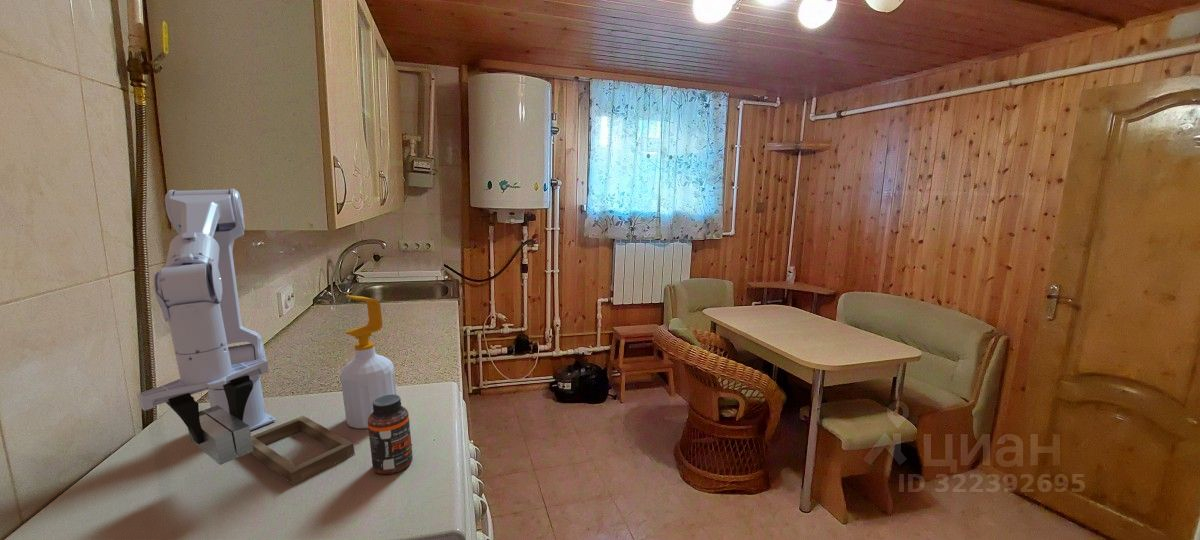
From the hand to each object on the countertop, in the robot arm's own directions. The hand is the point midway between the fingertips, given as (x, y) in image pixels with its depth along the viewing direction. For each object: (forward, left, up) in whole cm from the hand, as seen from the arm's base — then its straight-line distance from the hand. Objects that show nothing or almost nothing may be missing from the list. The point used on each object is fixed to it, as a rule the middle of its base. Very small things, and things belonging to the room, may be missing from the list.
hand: (218, 433), depth 69 cm
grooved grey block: (0, 0, -2) cm, 2 cm away
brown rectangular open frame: (0, +10, -8) cm, 13 cm away
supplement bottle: (+17, +16, -9) cm, 25 cm away
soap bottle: (0, +23, -9) cm, 25 cm away
